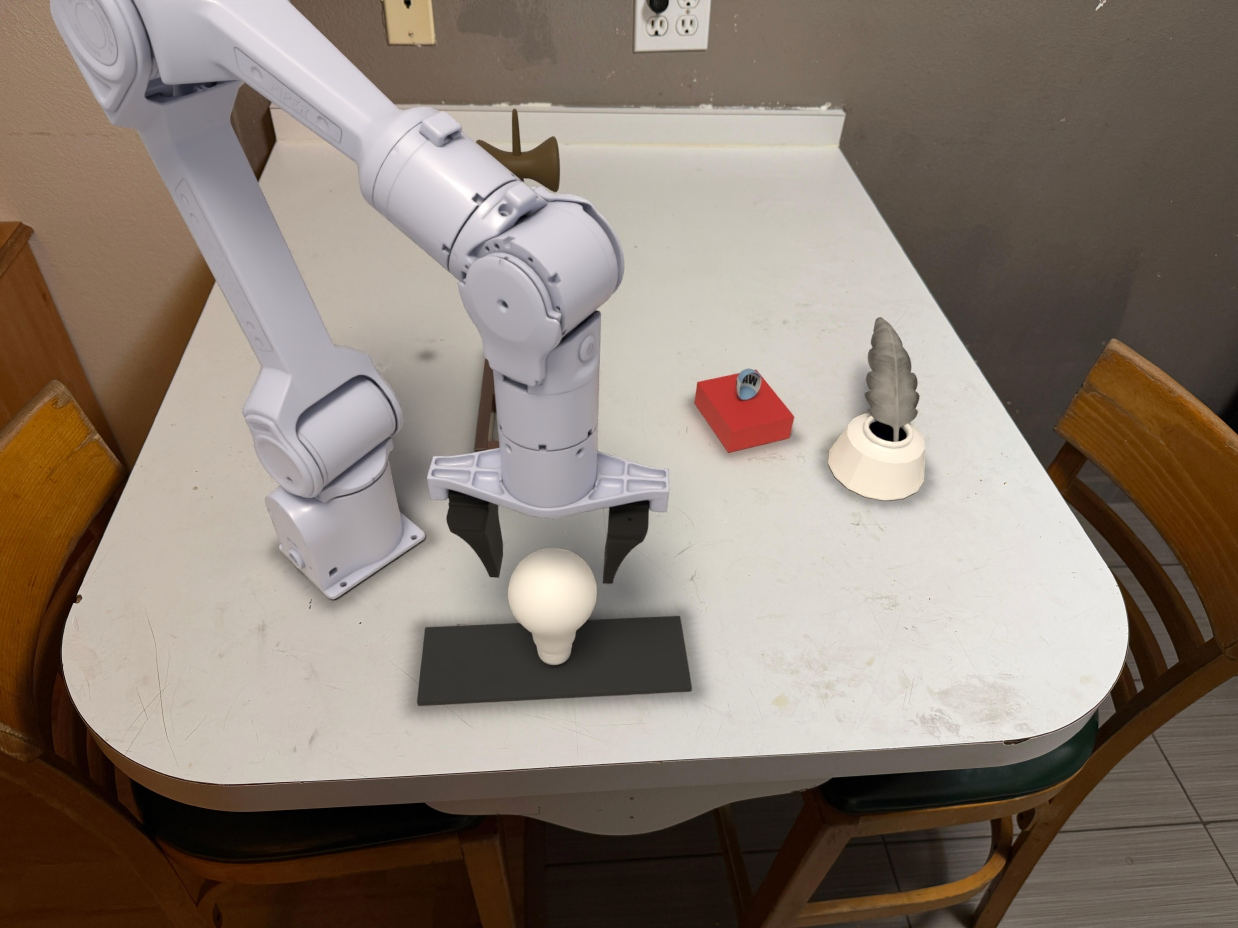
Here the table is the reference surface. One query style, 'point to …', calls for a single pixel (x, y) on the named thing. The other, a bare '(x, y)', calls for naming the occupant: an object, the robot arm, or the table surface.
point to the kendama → (529, 158)
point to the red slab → (743, 410)
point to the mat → (513, 670)
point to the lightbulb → (552, 599)
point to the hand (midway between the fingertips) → (552, 569)
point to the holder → (486, 412)
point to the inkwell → (883, 427)
